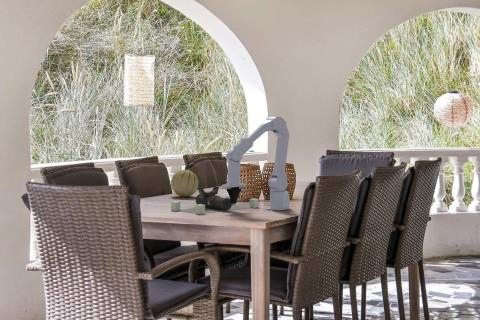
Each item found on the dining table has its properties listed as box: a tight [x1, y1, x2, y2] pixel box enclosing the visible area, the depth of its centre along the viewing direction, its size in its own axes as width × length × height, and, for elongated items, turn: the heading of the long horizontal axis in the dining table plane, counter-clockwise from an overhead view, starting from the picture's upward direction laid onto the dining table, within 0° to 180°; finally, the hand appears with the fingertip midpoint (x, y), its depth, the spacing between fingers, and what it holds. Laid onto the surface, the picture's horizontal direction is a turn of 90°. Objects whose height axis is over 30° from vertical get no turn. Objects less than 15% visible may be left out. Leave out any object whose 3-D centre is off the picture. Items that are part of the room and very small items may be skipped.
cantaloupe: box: [170, 168, 199, 198], centre depth 441 cm, size 15×15×15 cm
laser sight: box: [195, 185, 232, 210], centre depth 389 cm, size 10×22×10 cm, turn 38°
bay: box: [170, 195, 259, 215], centre depth 389 cm, size 40×19×4 cm, turn 138°
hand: (233, 203), depth 381 cm, fingers closed
